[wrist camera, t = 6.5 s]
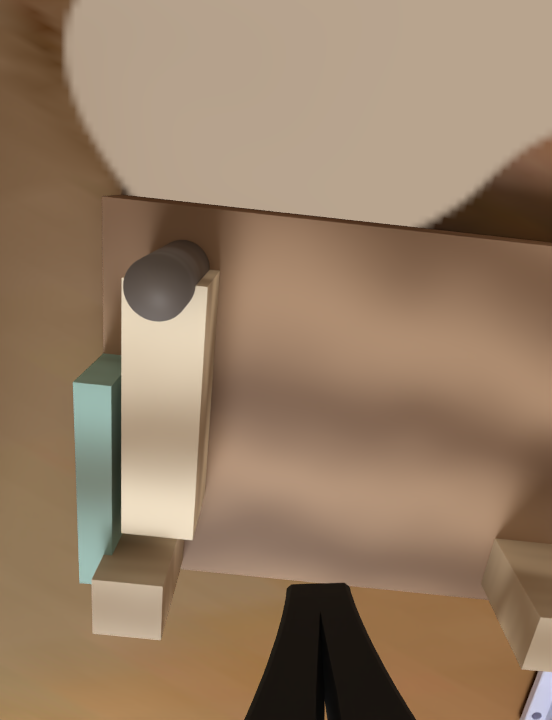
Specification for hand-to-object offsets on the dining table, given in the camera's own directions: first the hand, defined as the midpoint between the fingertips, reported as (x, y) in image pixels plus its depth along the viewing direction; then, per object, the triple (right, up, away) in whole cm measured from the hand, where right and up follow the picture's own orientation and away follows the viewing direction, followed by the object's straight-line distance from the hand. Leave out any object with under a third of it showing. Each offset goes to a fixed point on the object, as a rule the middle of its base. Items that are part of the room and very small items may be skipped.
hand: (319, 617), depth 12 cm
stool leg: (-5, +5, +7) cm, 10 cm away
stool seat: (+2, +4, +10) cm, 11 cm away
